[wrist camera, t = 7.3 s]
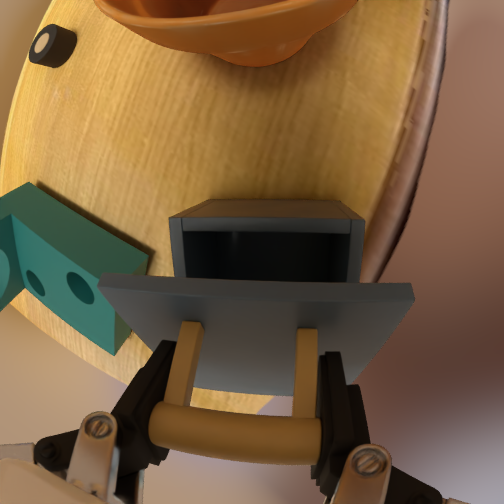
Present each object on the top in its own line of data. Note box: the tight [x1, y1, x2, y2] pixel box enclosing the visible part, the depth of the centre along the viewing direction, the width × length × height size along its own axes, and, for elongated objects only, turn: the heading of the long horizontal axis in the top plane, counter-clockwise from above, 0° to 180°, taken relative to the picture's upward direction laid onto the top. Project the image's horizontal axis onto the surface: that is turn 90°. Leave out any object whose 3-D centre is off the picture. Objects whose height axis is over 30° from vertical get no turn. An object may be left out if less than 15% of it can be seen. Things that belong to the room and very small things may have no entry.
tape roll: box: [29, 24, 77, 68], centre depth 17 cm, size 5×5×4 cm
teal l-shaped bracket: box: [0, 182, 149, 356], centre depth 22 cm, size 18×11×10 cm, turn 64°
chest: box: [169, 199, 365, 283], centre depth 20 cm, size 12×11×8 cm
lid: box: [97, 272, 415, 465], centre depth 11 cm, size 12×11×5 cm
